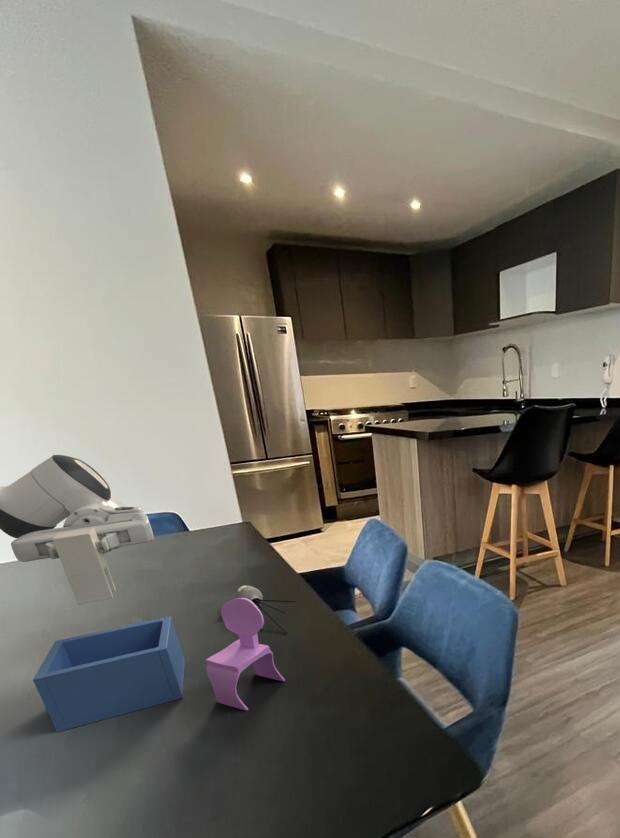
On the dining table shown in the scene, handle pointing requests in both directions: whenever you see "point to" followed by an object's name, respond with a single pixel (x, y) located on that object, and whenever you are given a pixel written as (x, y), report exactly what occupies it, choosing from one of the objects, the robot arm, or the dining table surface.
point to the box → (111, 673)
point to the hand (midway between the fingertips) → (78, 550)
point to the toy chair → (240, 652)
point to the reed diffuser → (257, 599)
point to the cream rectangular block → (84, 565)
